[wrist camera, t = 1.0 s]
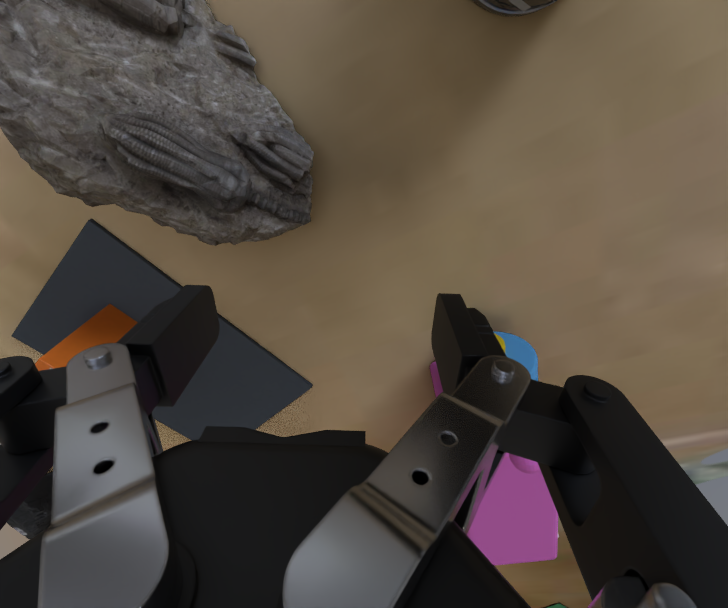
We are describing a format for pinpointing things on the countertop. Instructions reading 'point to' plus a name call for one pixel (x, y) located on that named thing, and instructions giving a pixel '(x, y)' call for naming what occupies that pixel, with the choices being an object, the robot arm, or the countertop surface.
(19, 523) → the rock
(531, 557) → the toy
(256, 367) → the mat
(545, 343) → the countertop surface
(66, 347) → the truck
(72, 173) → the fossil
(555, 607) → the terrain model
